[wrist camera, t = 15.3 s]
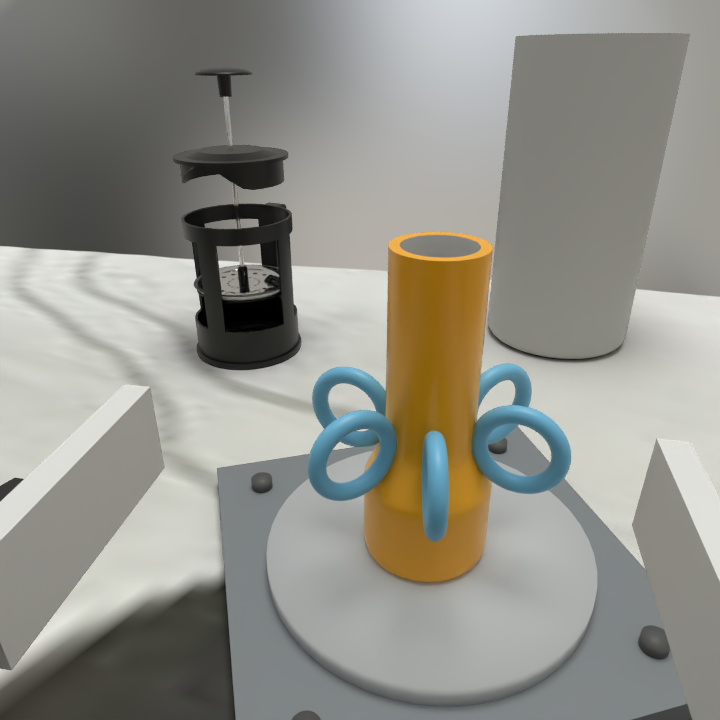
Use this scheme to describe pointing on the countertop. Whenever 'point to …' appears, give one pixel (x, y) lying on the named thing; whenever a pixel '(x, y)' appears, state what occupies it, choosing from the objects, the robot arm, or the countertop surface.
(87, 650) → the countertop surface
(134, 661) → the countertop surface
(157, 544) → the countertop surface
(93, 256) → the countertop surface
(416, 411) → the orange ringed tube
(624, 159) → the cylinder vase
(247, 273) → the french press
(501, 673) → the grey plate with disc
